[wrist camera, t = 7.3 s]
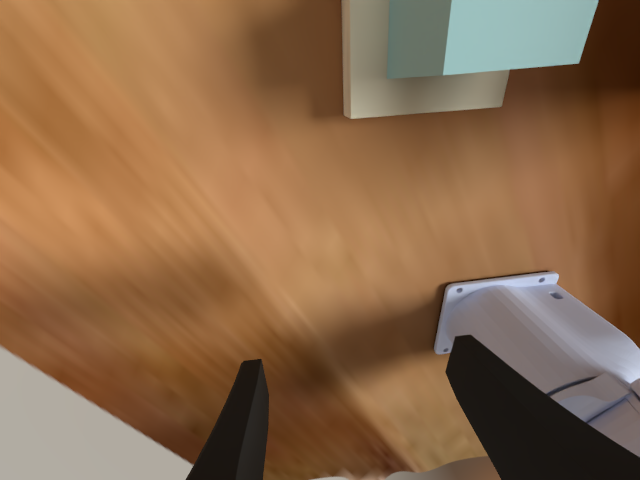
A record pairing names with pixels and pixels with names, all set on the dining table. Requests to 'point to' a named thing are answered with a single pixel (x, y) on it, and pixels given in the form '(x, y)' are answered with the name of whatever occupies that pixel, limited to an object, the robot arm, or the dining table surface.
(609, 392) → the robot arm
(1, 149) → the dining table surface
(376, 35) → the cream block
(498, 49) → the teal block
